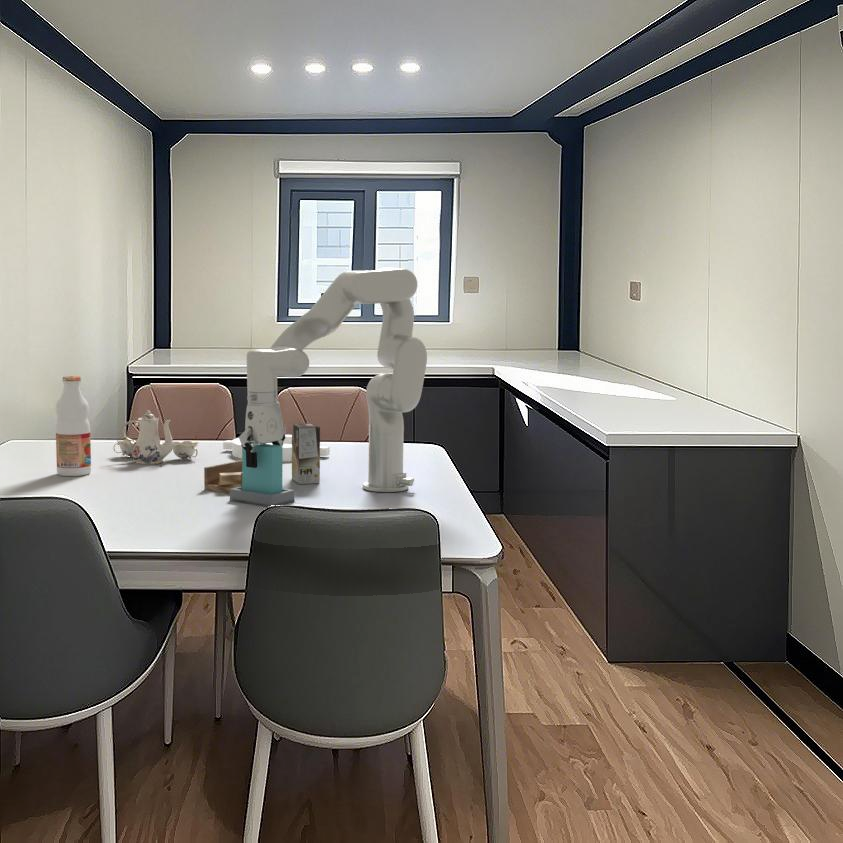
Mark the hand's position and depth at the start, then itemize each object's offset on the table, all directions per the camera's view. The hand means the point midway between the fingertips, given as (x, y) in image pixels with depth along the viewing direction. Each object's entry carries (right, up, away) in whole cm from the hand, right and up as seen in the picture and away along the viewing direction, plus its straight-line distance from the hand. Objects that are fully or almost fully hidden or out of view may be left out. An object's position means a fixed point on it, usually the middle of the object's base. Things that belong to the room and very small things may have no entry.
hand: (264, 464), depth 272 cm
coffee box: (+7, -6, +29) cm, 30 cm away
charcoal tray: (-1, -10, +1) cm, 10 cm away
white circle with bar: (-7, 0, +73) cm, 73 cm away
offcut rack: (-8, -7, +17) cm, 20 cm away
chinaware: (-43, -1, +58) cm, 72 cm away
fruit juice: (-60, -4, +33) cm, 68 cm away
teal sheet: (-1, -9, +1) cm, 9 cm away
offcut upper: (-10, -6, +13) cm, 18 cm away
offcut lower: (-10, -8, +14) cm, 19 cm away
